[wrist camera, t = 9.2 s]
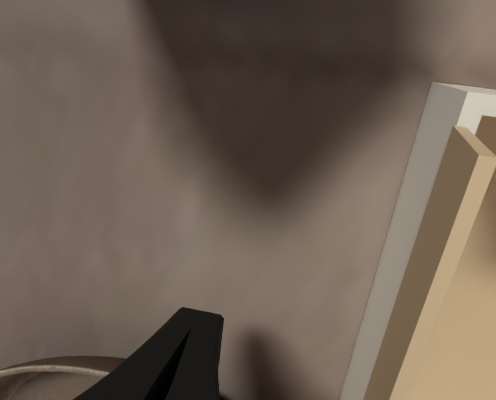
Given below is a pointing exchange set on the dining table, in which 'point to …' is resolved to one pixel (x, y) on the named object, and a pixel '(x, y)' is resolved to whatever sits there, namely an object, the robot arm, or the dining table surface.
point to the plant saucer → (54, 377)
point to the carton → (465, 276)
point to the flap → (432, 262)
